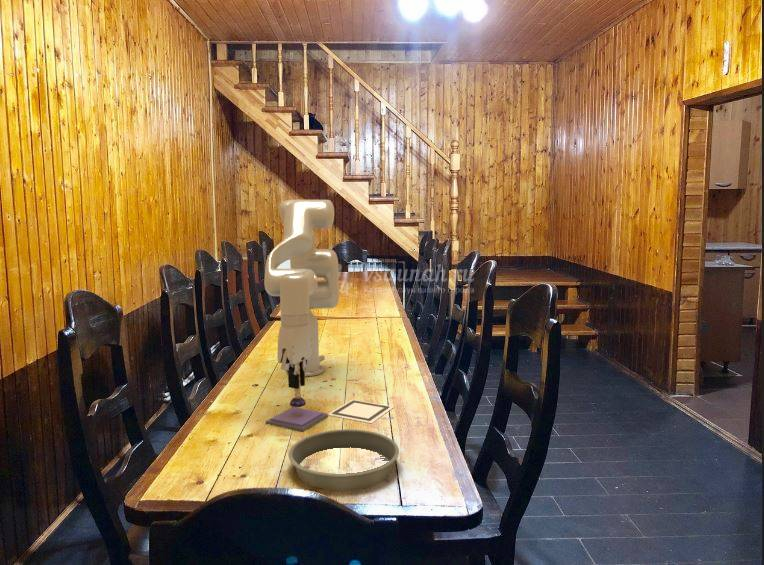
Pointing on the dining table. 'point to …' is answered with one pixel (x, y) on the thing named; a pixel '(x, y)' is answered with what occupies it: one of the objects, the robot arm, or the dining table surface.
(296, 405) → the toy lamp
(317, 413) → the ink pad
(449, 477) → the dining table surface
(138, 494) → the dining table surface
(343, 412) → the marked card
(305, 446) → the cake pan
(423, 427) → the dining table surface
